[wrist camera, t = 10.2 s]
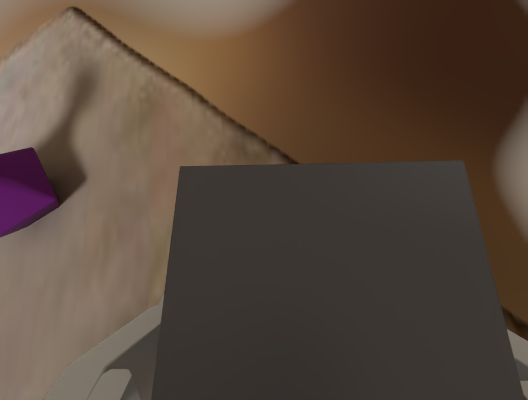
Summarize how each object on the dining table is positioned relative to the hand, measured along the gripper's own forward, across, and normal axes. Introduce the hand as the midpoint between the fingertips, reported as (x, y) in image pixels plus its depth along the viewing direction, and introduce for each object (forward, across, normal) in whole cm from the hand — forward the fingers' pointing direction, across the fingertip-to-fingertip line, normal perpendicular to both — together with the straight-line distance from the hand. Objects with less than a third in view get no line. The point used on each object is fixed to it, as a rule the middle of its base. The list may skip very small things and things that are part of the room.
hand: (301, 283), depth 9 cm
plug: (+4, 0, +5) cm, 6 cm away
